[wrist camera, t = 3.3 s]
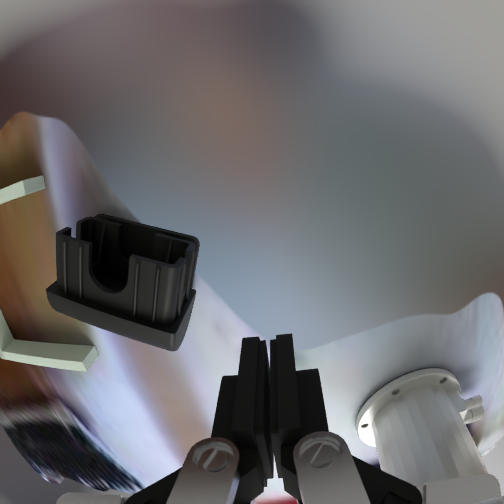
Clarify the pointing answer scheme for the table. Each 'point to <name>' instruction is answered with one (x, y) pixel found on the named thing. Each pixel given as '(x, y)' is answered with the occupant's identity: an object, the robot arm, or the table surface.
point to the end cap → (126, 279)
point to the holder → (40, 352)
